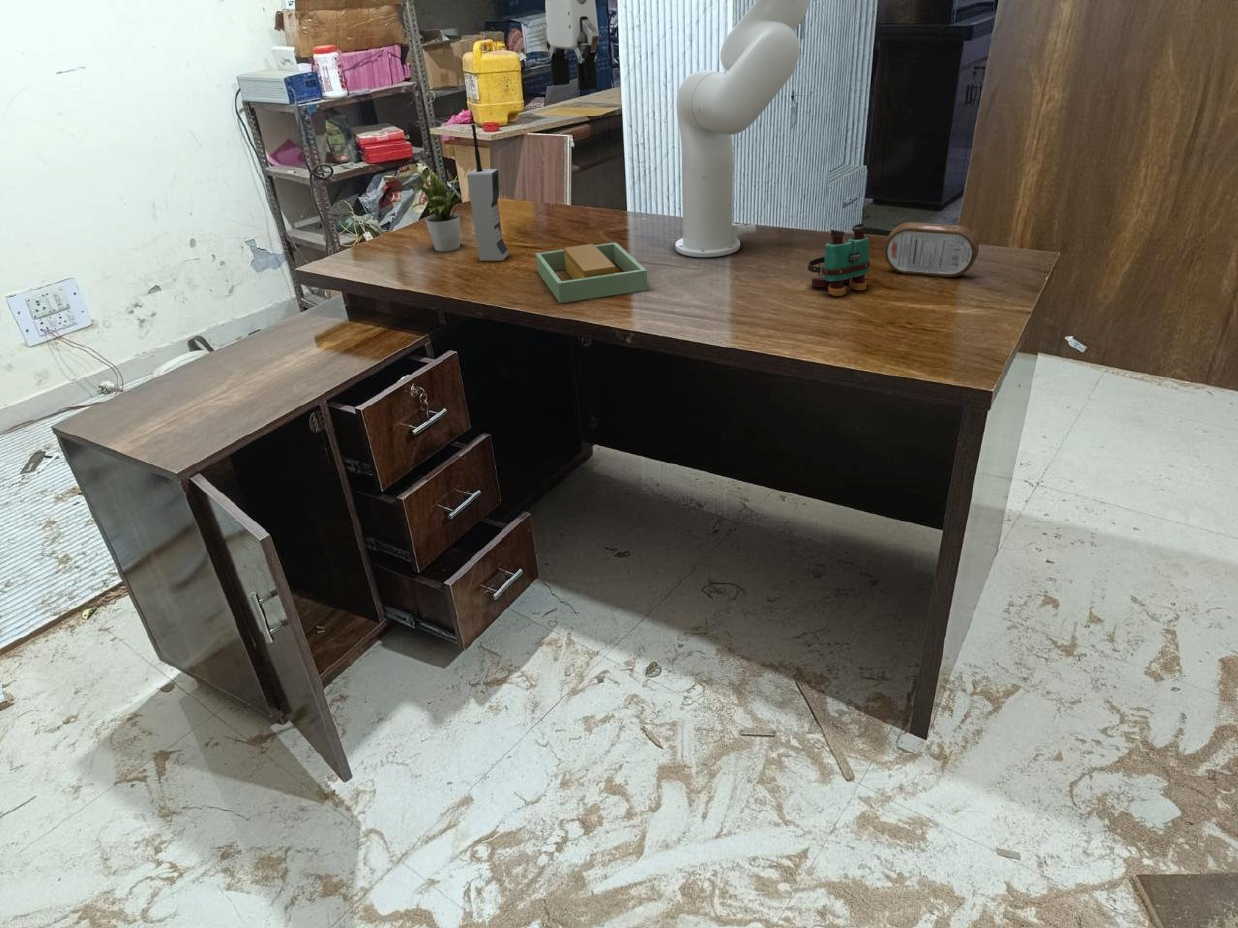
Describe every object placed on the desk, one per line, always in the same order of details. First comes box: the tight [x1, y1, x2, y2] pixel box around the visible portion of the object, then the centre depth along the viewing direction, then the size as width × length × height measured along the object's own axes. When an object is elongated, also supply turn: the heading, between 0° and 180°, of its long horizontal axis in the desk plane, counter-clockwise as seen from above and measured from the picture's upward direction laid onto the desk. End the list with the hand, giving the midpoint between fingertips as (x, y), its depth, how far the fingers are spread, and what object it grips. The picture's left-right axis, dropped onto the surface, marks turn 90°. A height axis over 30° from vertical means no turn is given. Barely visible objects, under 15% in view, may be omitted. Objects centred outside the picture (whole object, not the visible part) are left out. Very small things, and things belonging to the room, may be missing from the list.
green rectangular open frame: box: [535, 241, 649, 304], centre depth 150 cm, size 16×19×4 cm
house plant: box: [402, 166, 470, 252], centre depth 170 cm, size 14×14×16 cm
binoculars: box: [807, 222, 871, 297], centre depth 138 cm, size 9×11×10 cm
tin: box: [883, 221, 980, 278], centre depth 142 cm, size 15×3×8 cm, turn 65°
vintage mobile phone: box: [466, 123, 509, 262], centre depth 159 cm, size 4×5×25 cm
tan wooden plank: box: [563, 243, 617, 280], centre depth 150 cm, size 6×15×4 cm, turn 17°
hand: (573, 87), depth 140 cm, fingers open, 9 cm apart
